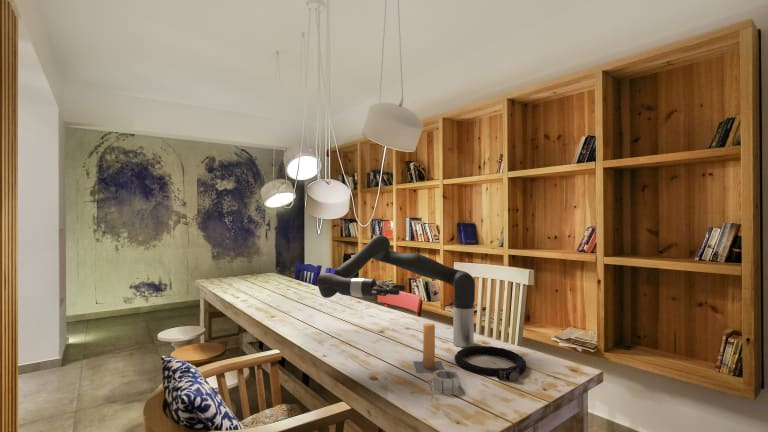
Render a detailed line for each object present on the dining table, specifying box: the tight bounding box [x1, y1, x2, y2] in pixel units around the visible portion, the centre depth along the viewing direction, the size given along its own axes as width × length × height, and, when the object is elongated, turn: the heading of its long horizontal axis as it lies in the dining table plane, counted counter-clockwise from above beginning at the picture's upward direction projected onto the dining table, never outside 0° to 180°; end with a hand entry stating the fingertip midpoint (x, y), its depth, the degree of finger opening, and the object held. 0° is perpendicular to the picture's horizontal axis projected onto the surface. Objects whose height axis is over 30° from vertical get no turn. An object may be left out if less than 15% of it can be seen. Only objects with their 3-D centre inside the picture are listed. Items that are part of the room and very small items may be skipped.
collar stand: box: [426, 369, 466, 396], centre depth 127 cm, size 11×11×5 cm
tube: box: [422, 322, 436, 369], centre depth 144 cm, size 4×4×16 cm
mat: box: [413, 360, 446, 374], centre depth 144 cm, size 11×11×1 cm
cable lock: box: [454, 345, 527, 383], centre depth 148 cm, size 28×4×30 cm
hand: (402, 289), depth 147 cm, fingers open, 8 cm apart
